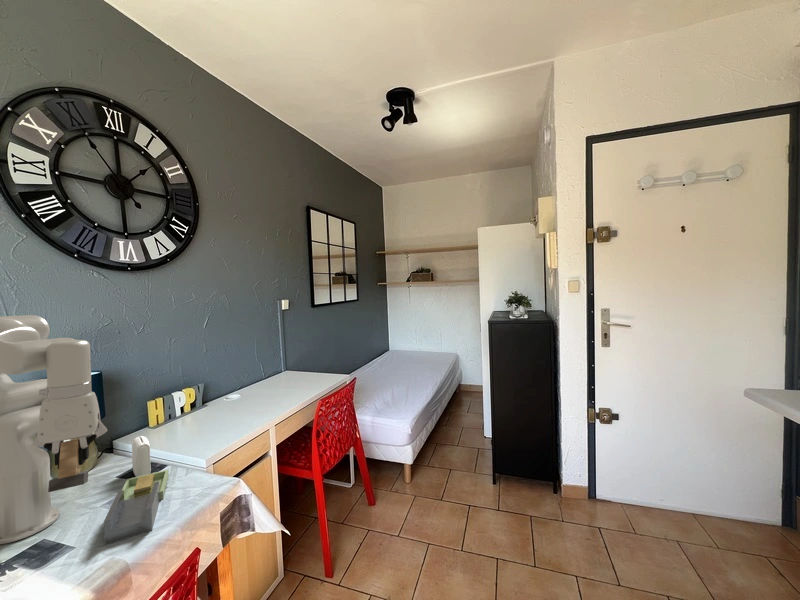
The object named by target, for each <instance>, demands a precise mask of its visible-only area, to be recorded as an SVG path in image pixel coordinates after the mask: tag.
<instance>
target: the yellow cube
mask: <svg viewBox="0 0 800 600" xmlns="http://www.w3.org/2000/svg"><path fill="white" fill-rule="evenodd" d="M148 480H153V485H154V482H155V475H154V474H151V473H150V475H145V476H141V477H139V478H138V480H137V482H136V484H137V483H140V482H144V481H148Z"/></svg>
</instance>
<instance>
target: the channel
mask: <svg viewBox="0 0 800 600" xmlns="http://www.w3.org/2000/svg"><path fill="white" fill-rule="evenodd" d="M160 502H161V500H160V490H159V481H158V482H154V485H153V488H152V491H151V493H150V494H146V495H142V496H139V497H135V498H131V499H127V500H124V490H122V489H121V490H119V491H117V494H116V495H115V497H114V499H113V502H112V504H111V506H110V508H109V509H108V512H107V513H106V514H107V515H106V516H105V518H104V520H103V533H104V536H103V537H104V545H109V544H112V543H115V542H118V541H122V540H124V539H127V538H132V537H134V536H138V535H141V534H145V533H147V532H150V531H153V529H154V524H155V522H156V521H155V520H156V517H157V513H158V510H159V506H160V505H159V504H160Z"/></svg>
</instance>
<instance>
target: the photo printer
mask: <svg viewBox="0 0 800 600" xmlns="http://www.w3.org/2000/svg"><path fill="white" fill-rule="evenodd" d="M131 456H132V457H131V458H132V459H131V461H132V472H133V474H134V476H135V477H139V476H143V475H147V474H151V471H152V469H151V468H152V467H151V445H150V442H149V439H148V438H147V437H146V436H143V435H140V436H136V437H135V438H134V439H133V440H132V441H131Z"/></svg>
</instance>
